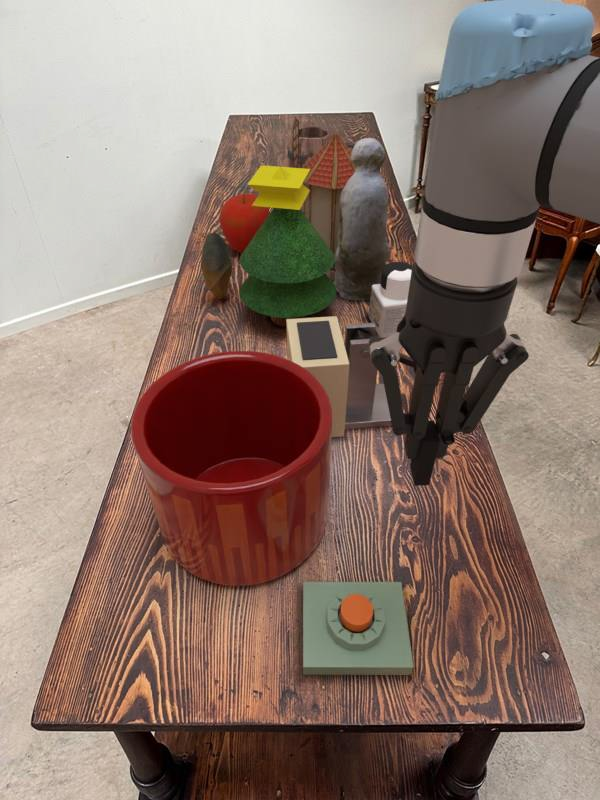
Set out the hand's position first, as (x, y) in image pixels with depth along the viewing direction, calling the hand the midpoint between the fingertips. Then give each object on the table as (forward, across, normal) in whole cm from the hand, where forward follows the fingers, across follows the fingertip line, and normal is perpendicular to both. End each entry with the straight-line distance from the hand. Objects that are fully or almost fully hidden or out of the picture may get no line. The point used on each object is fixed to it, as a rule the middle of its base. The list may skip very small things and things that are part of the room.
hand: (419, 474), depth 55 cm
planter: (+20, +20, -10) cm, 30 cm away
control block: (+20, +6, +7) cm, 22 cm away
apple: (+20, +24, -87) cm, 92 cm away
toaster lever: (+10, -2, -31) cm, 33 cm away
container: (+20, -7, -55) cm, 59 cm away
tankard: (+20, +5, -110) cm, 112 cm away
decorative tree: (+20, +14, -58) cm, 63 cm away
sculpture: (+20, -2, -69) cm, 72 cm away
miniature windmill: (+20, +5, -86) cm, 89 cm away
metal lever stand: (+20, +2, -30) cm, 37 cm away
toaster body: (+20, +9, -30) cm, 37 cm away
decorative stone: (+20, +28, -65) cm, 74 cm away
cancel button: (+16, +6, +7) cm, 19 cm away
